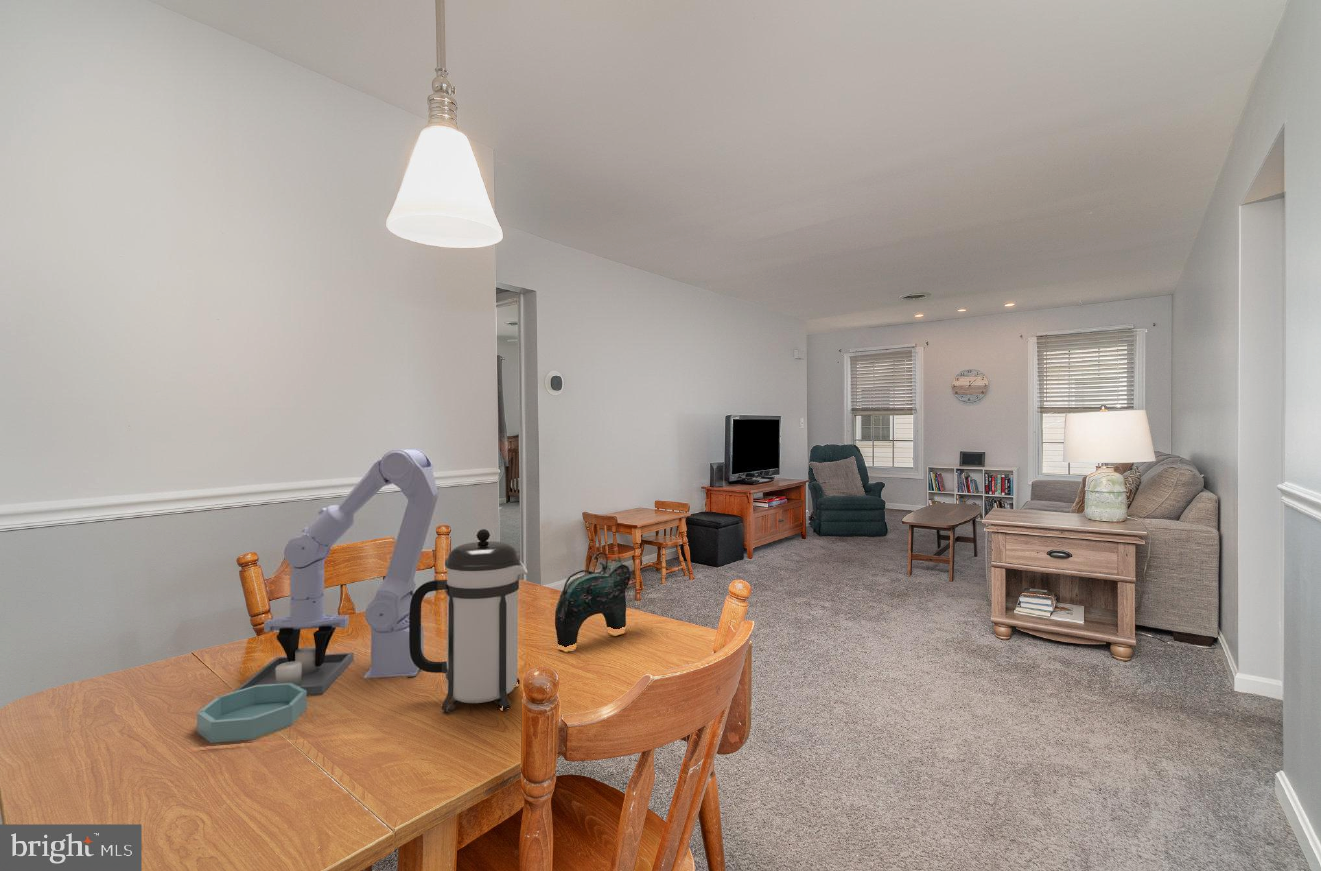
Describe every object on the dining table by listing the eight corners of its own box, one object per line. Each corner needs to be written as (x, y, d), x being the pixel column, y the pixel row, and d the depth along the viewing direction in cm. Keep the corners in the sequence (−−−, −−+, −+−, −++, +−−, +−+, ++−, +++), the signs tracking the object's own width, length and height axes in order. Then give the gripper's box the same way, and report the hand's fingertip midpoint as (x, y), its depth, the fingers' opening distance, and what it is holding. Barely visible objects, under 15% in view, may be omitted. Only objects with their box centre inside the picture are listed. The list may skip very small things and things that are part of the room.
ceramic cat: (618, 628, 142) (618, 546, 142) (636, 634, 137) (636, 549, 138) (550, 649, 128) (550, 557, 128) (568, 657, 123) (568, 562, 123)
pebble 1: (305, 682, 109) (305, 660, 109) (295, 691, 105) (296, 668, 105) (281, 683, 108) (281, 662, 108) (271, 692, 104) (271, 670, 104)
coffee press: (496, 672, 115) (497, 520, 115) (541, 698, 103) (542, 529, 103) (407, 700, 102) (407, 529, 103) (447, 733, 91) (447, 541, 91)
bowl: (315, 701, 102) (316, 681, 102) (280, 740, 89) (280, 717, 89) (230, 707, 100) (230, 686, 100) (180, 748, 86) (181, 724, 86)
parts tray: (353, 662, 120) (353, 652, 120) (322, 697, 104) (322, 685, 104) (276, 667, 117) (276, 657, 117) (232, 703, 101) (232, 691, 101)
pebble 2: (321, 665, 117) (322, 645, 117) (313, 673, 113) (313, 652, 113) (300, 667, 116) (300, 646, 116) (291, 675, 112) (291, 654, 112)
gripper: (354, 589, 120) (353, 655, 120) (276, 592, 117) (275, 660, 117) (341, 598, 113) (341, 669, 113) (258, 602, 110) (258, 674, 110)
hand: (306, 665), depth 114 cm, fingers closed on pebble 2, 4 cm apart
